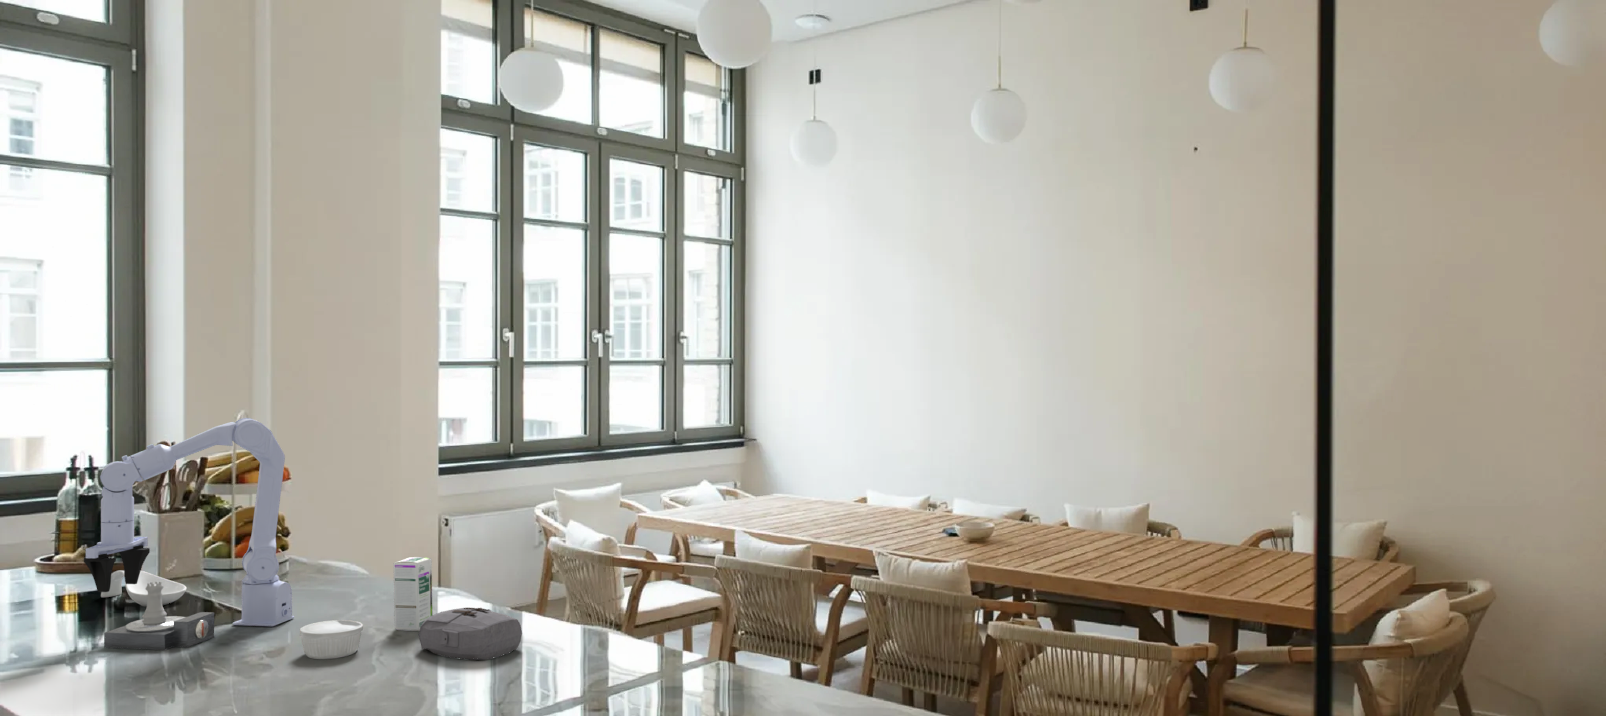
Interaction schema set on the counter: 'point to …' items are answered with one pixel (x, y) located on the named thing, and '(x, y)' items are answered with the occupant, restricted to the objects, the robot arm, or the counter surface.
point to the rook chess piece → (154, 605)
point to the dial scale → (162, 633)
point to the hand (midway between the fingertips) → (117, 587)
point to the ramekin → (331, 638)
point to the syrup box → (412, 592)
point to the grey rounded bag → (470, 633)
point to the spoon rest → (138, 590)
